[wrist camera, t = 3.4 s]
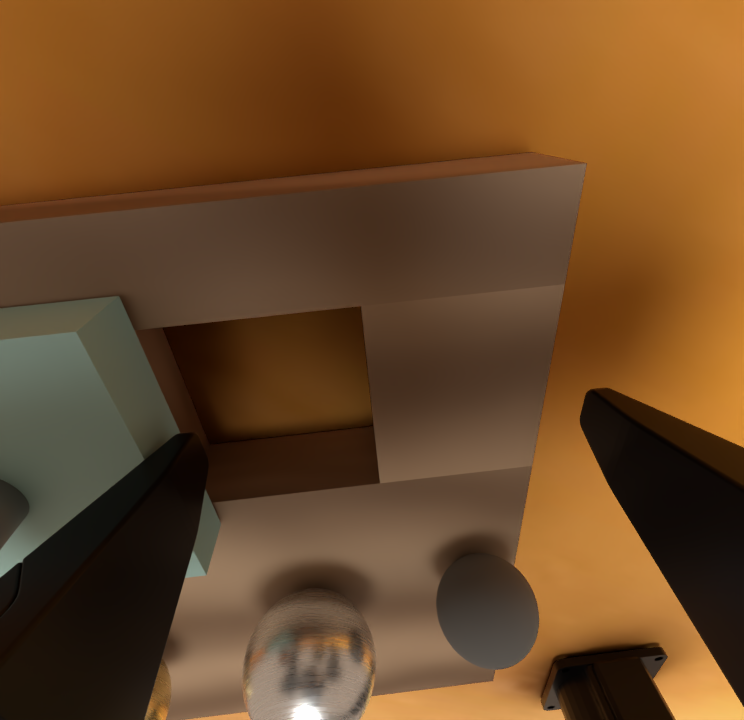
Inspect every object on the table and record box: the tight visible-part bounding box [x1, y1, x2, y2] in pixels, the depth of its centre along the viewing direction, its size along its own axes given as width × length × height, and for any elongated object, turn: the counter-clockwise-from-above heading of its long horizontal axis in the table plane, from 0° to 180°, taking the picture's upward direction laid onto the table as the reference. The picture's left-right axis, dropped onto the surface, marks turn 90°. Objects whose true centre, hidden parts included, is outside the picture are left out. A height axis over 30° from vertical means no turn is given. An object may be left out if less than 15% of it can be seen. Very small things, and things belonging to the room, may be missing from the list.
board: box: [0, 152, 587, 720], centre depth 14 cm, size 22×16×2 cm
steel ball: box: [242, 588, 376, 720], centre depth 12 cm, size 4×4×4 cm
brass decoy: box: [145, 659, 171, 720], centre depth 13 cm, size 4×4×4 cm
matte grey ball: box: [436, 553, 539, 670], centre depth 12 cm, size 3×3×3 cm
